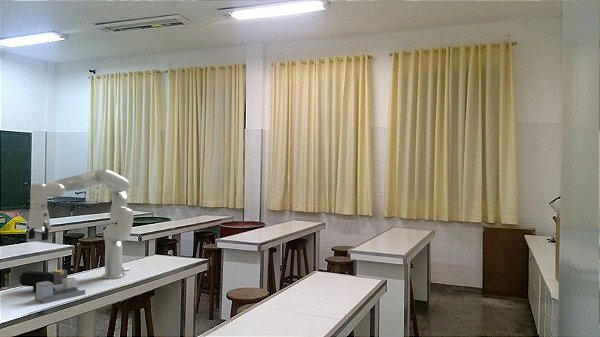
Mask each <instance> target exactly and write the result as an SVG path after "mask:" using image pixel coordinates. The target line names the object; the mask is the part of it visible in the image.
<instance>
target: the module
mask: <svg viewBox="0 0 600 337" xmlns="http://www.w3.org/2000/svg"><path fill="white" fill-rule="evenodd" d="M61 287H62V289H67V288H72V287H77V279H76V278H75V277H67V278H65V279H62V284H61ZM62 289H61V290H62Z"/></svg>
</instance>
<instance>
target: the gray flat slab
mask: <svg viewBox="0 0 600 337" xmlns="http://www.w3.org/2000/svg"><path fill="white" fill-rule="evenodd" d="M83 295H86V289H82V290H81V289H78V286H76V287H72V288H67V289H58V290H55V291H53V296H52V297H48V298H43V299H42V301H41V300H39V299H37V298H36V294H35V295H34V300H35V301H37V302H40V303H41V304H43V305H44V304H48V303H51V302H56V301H60V300H66V299H70V298H73V297H79V296H83Z"/></svg>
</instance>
